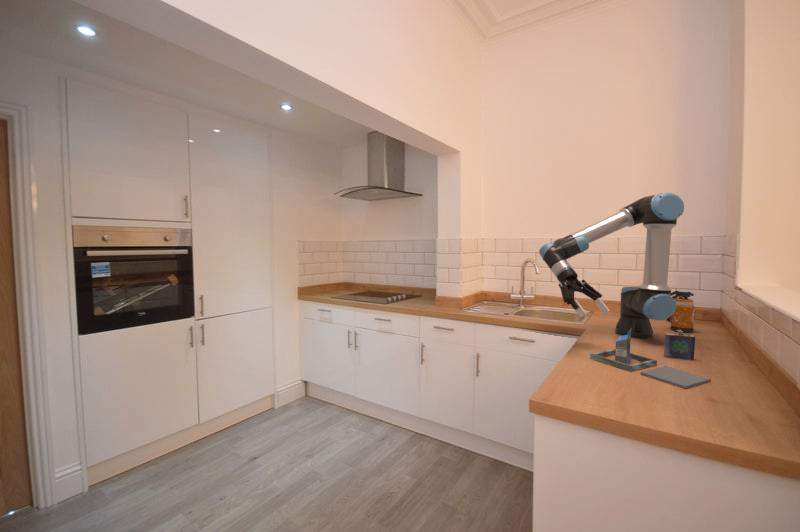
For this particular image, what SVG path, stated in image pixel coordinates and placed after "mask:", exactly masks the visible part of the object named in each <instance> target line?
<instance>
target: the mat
mask: <svg viewBox="0 0 800 532" xmlns="http://www.w3.org/2000/svg"><path fill="white" fill-rule="evenodd" d="M640 375H641V376H644V377H648V378H651V379H653V380H657V381H660V382H663V383H665V384H668V385H669V384H670V385H672V386H676V387H678V388H681V389H685V390H686V389H690V388H693V387H696V386H700V385H704V384H707V383H710V382H711V380H712V378H709V377H705V376H702V375H699V374H695V373H691V372H688V371H685V370H681V369H678V368H674V367H670V366H668V365H664V366H660V367H656V368H651V369H648V370H644V371H640ZM709 381H710V382H709ZM706 382H707V383H706Z"/></svg>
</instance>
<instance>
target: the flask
mask: <svg viewBox="0 0 800 532" xmlns="http://www.w3.org/2000/svg"><path fill="white" fill-rule="evenodd" d="M677 331H678V332H677ZM677 331H676V333H665V334H664V346H663V347H664V350H663V357H665V358H670V359H677V358H680V359H679V360H681V359H682V360H687V359H689V361H695V346H696V336H694V335H692V334H688V333H687V334H686V333H684V332H681V331H682V330H677Z"/></svg>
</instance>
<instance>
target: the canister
mask: <svg viewBox="0 0 800 532" xmlns="http://www.w3.org/2000/svg"><path fill="white" fill-rule="evenodd" d="M694 295H695V293H692V292H690V291H679V290H675V291H671V297H672V298H673V299H674V300H675V302H676V310H675V312H674V314H673V315H672V316H670V317H669V318H667V319H665V320H666V321H667V322H668V323H670V329H671V330H672V331H674V330H682V331H683V332H682V333H684V332H689V333H692V331H693V332H694V331H695V330H694V329H695V313H696V312H695V311H696V306H695V305H694V303H695V302H694V300H693V299H691V297H693V296H694Z"/></svg>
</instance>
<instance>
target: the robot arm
mask: <svg viewBox="0 0 800 532" xmlns="http://www.w3.org/2000/svg"><path fill="white" fill-rule="evenodd" d="M684 211H685V203H684V201H683V199H682V198H681V197H680V195H677V194H675V193H673V192H660V193H657V194H656V193H655V194H652V195H648V196H644V197H642V198H640V199H637V200H635V201H634V202H632V203H629V204H628V205H626V206H624V207H621V208H620V209H619V210H618V212H616V213H614V214H612V215H610V216H607V217H605V218H603V219H601V220H599V221H597V222H594V223H592V224H590V225H588V226H585V227H584V228H581V229H579V230H577V231H575V232H572V233H570V234H569V235H566V236H564V237H562V238H558V239H555V240H554V241H553V242H547V243H545V244H543V245H542V246H541V247H540V248H539V250H538V253H539V255H540V257H541V259H542V261H543V262H545V264H546V265H547V266H548V268H549V269H550V271H551V272H552V273H553V275H554V276H555V277H556V279H557V281H558V282H559V283H558V287H559V289H560V293H561V295H562V300H563V302H564V303H565V304H567V305H568V306H571V307H572V309H574V311H575V312H576V314H577V315H578V316H579V318H583V317H584V316H586V315H587V312H586V311H585V310H584V308H583V307H582V306H581V304H580V303H579V301H578V300H577V299H575V292H578V293H580V294H584V295H585V296H587V298H590V299H591V300H593V301H594V302H593V303H594V304H595V305H596V306H597V308H598V309H599V311H600V312H601V313H602V315H605V316H606V315H607V314H608V313H609V312H610V309H609V308H608V306H607V305H606V304H605V302H604V301H603V300H602V299H601V298H603V294H602V293H600V292H599V291H597V290H596V289H595V288H594V287H593V286H592V285H590V283H588V282H587V281H586V280H585V279H582V280H579V279H578V277H579V275H578V273H577V272H576V271H575V269H574V268H573V267H572V266H571V264H570V263H569V262H568V261H567V260H568V259H570V258H572V257H575V256H577V255H579V254H581V253H582V254H583V253H584V252H585V251H587V250H589V248H590V243H594V242H595V241H597V240H599V239H602V238H604V237H607V236H608V235H611V234H613V233H615V232H617V231H620V230H622V229H624V228H627V227H629V228H631V227H634V226H637V225H640V224H642V225H643V227H644V228H645V229H646V238H645V240H646V241H645V251H644V267H643V275H642V276H643V277H642V278H643V279H642V283H641V284H640V285H639V286H623V287H622V288H621V291H620V311H619V314H620V316H619V318H618V321H617V323H616V326H615V328H614V329H615V333H616V334H617V335H619V334H620V336H624V335H628V332H629V330H630V329H631V328H632V329H631V338H635V339H652V338H653V337H654V330H653V327H652V323H651V321H650V320H655V321H665V320H666V319H667V318H669V317H670V316H672V315H673V314H674V312H675V310H676V302H675V300H674V299H673V298H672V296H671V293H672V289H671V288H670V287H669V286H668V282H669V281H668V277H669V269H670V267H669V265H670V264H669V263H670V256H671V255H670V253H671V242H672V241H671V240H672V229H673V228H675V227H676V226H677V221H678V219H679V218H680V217H681V216H682V215H683V213H684ZM629 334H630V333H629Z"/></svg>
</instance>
